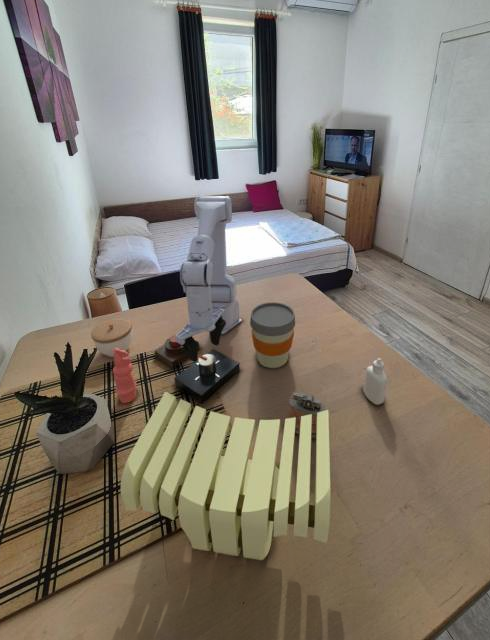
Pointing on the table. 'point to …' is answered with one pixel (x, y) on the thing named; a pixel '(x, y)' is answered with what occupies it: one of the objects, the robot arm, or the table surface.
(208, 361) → the dial
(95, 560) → the table surface
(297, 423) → the lighter
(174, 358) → the button block
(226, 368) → the panel
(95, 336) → the trinket box
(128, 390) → the figurine
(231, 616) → the table surface
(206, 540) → the slatted curved stool
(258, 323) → the reusable coffee cup
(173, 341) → the button
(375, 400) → the eye dropper bottle
